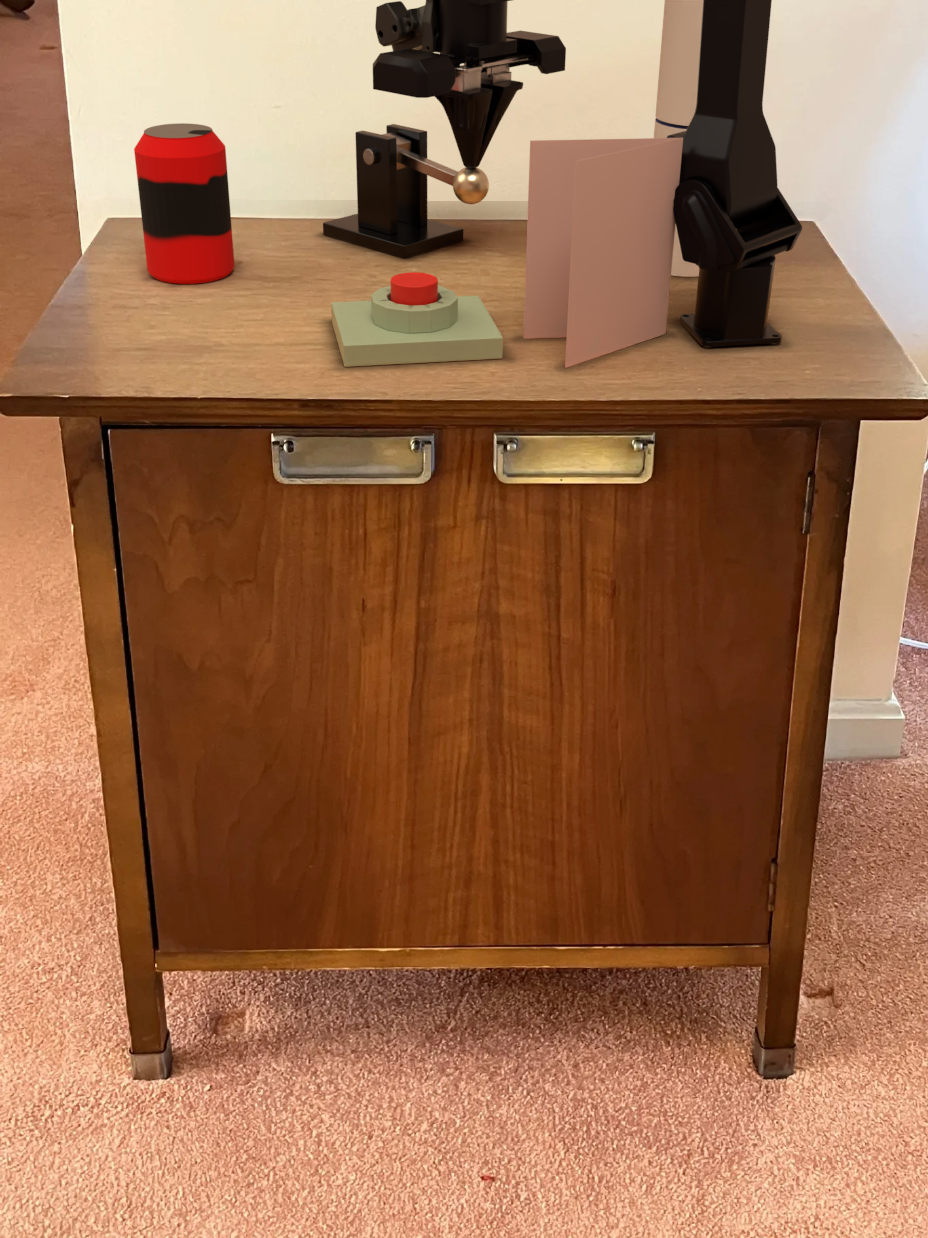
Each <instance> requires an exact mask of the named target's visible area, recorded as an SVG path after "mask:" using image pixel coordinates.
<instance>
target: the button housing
mask: <svg viewBox="0 0 928 1238" xmlns="http://www.w3.org/2000/svg"><path fill="white" fill-rule="evenodd" d="M330 310H331V311H330V312H331V313H330V314H331V324H332V328H333V331H334V336H335V338H336V342H337V345H338V349H339V353H340V355H341V359H342V363H343V366H344V367H345V368H351V367H352V368H353V367H368V366H370V367H371V366H386V365H389V366H391V365H409V364H425V363H427V364H428V363H442V362H443V363H445V362H462V361H465V362H466V361H483V360H499V359H501V360H502V359H503V358H504V357H503V356H504V337H503V334H502V333H501V332H500V330H499V328H498V327H497V325H496V323H495V321H494V320H493V317H492V316H491V314H490V313H489V311H488V309H487V307H486V306H485V304H484V302H483V300H482V299H481V297H480V295H458V296H457V293H455V291H454V290H452V289H449V288H447V287H444V286H441V285H439V284H438V302H435V303H431V304H428V305H415V306H410V305H403V304H396V303H394V302H392V301H391V285H388V286H384V287H379V288H378V289H377V290H375V291H374V292H373V293H372V294H371V295H370V300H349V301H346V300H345V301H331V302H330Z"/></svg>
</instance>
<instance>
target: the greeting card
mask: <svg viewBox="0 0 928 1238" xmlns="http://www.w3.org/2000/svg"><path fill="white" fill-rule="evenodd" d="M682 146H683V138H654V137H652V138H651V137H650V138H647V137H646V138H645V137H644V138H597V139H596V138H595V139H593V138H592V139H543V140H542V139H541V140H540V139H537V140H529V163H528V193H527V194H528V195H527V196H528V197H527V224H526V249H525V250H526V254H525V257H526V258H525V278H524V279H525V282H524V283H525V284H524V285H525V286H524V311H523V339H524V340H528V339H556V338H557V339H560V338H566V342H565V343H566V344H565V359H564V360H565V361H564V362H565V363H564V364H565V365H564V368H565V369H566V368H569V367H573V366H576V365H579V364H582V363H584V362H588V361H591V360H593V359H596V358H598V357H603V356H604V355H608V354H610V353H614V352H616V351H619V350H622V349H625V348H628V347H631V346H634V345H637V344H640V343H643V342H645V341H649V340H652V339H655V338H657V337H660V336H663V335H666V333H667V321H668V312H669V300H670V299H669V298H670V288H671V279H672V278H671V277H672V275H671V268H672V257H673V246H674V235H675V224H676V222H675V217H674V212H673V208H674V197H675V189H676V188H677V186H678V185H679V180H680V169H681V158H682Z"/></svg>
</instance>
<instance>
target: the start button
mask: <svg viewBox="0 0 928 1238" xmlns="http://www.w3.org/2000/svg"><path fill="white" fill-rule="evenodd" d="M438 285H439V280H438V278H437V276H435V275H433V274H430V273H426V272H418V271H417V272H414V271H413V272H412V271H411V272H403V273H398V274H395V275H393V276H392V277H391V278H390V286H391V301H392V302H394V303H396V304H403V305H410V306H415V305H428V304H431V303H435V302H438Z"/></svg>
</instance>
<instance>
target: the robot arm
mask: <svg viewBox="0 0 928 1238" xmlns="http://www.w3.org/2000/svg"><path fill="white" fill-rule="evenodd" d="M511 1H513V0H425V4H424V5H421V6H419V7H415V8H407V7H406V6H405V4H404V2H403V1H402V0H398V1H391V2H385V3H382V4H380V5H378V6H376V8H375V25H374V26H375V33H376V35H377V36H376V38H377V40H378V44H380V45H381V46H382V47H390V46H391V49H392V51H387V52H381V53H379V54H378V56H377V57H376V58H375V60H374V61H373V63H372V89H373V90H375V91H381V92H385V93H392V94H396V95H401V96H407V97H412V98H415V99H417V98H418V99H427V98H428V99H429V98H433V97H434V98H436V100H437V101H438V102H439V103H440V104H441V107H442V108H443V110H444V112H445V115H446V117H447V119H448V121H449V124H450V128H451V130H452V135H453V137H454V140H455V143H456V146H457V149H458V152H459V155H460V158H461V162H462V164H463V166H464V168H465V167H468V168H475V167H477V168H479V166H480V164H481V162H482V160H483V158H484V157H485V154H486V152H487V150H488V148H489V145H490V143H491V141H492V139H493V137H494V136H495V133H496V131H497V129H498V127H499V125H500V123H501V121H502V119H503V117H504V115H505V114H506V112H507V110H508V109H509V106H510V105H511V103H512V101H513V99H514V97H515V96H516V94H517V92H518V91H520V90H523V88H524V82H523V81H518V80H513V79H512V71H511V70H510V68H514V67H520V66H525V65H528V66H531V67H537V69H538V70H539V72H540V74H542V75H549V74H555V73H559V72H564V71H566V58H567V57H566V55H567V53H566V52H567V47H566V46H565V45H564V43H563V41H562V40H561V38H560V36H559V35H553V34H547V33H540V32H532V31H527V30H526V31H525V30H516V31H515V30H514V31H508V2H511ZM771 13H772V0H703V12H702V27H701V42H700V57H699V72H698V87H697V102H696V109H695V113H694V116H693V118H692V120H691V122H690V124H689V126H688V128H687V130H686V131H683V132H679V133H676V134H672V135H668V136H667V138H683V146H682V158H681V169H680V180H679V185H678V186H677V188H676V189H675V197H674V208H673V212H674V217H675V222H676V227H677V232H678V237H679V243H680V248H681V253H682V258H683V260H684V261H686V262H690V263H694V264H696V265H698V267H699V276H697V286H696V287H697V288H696V296H695V297H696V298H695V306H694V313H681V314H679V318H678V321H679V323H681V325H682V326H683V327H684V328H685V329H686V330H687V331H688V332H689V333H690V334H691V335H692V337H693V338H694V339H695V340H696V341H697V342H698V343H699V344H700V346H702V347H706V348H707V347H731V346H748V345H749V346H750V345H767V344H780V343H782V339H783V337H782V336H783V335H782V334H781V333H779V332H778V331H777V330H776V329H775V328H774V327H773V326H772V325H771V324H769V322H768V319H769V312H770V305H771V296H772V290H773V289H772V288H773V281H774V272H775V265H776V259H777V258H776V255H779V254H781V253H784V252H789V251H792V250H793V249H794V247H795V245H796V243H797V241H798V239H799V237H800V235H801V232H802V230H803V225H802V224H801V222H800V221H799V219H798V218H797V216H796V214H795V213H794V211H793V209H792V208H791V206H790V204H789V203H788V201H787V200H786V198H785V197H784V195H783V194H782V192H781V190H780V189H779V187H778V170H777V169H778V168H777V150H776V149H777V147H776V144H775V142H774V138H773V135H772V133H771V130H770V127H769V125H768V122H767V120H766V118H765V117H766V116H765V115H764V110H763V109H764V108H763V104H764V103H763V102H764V90H765V79H766V68H767V58H768V57H767V56H768V48H769V47H768V45H769V37H770V36H769V34H770V24H771ZM462 64H463V65H462Z"/></svg>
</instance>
